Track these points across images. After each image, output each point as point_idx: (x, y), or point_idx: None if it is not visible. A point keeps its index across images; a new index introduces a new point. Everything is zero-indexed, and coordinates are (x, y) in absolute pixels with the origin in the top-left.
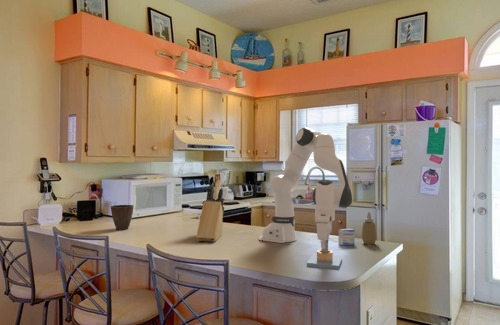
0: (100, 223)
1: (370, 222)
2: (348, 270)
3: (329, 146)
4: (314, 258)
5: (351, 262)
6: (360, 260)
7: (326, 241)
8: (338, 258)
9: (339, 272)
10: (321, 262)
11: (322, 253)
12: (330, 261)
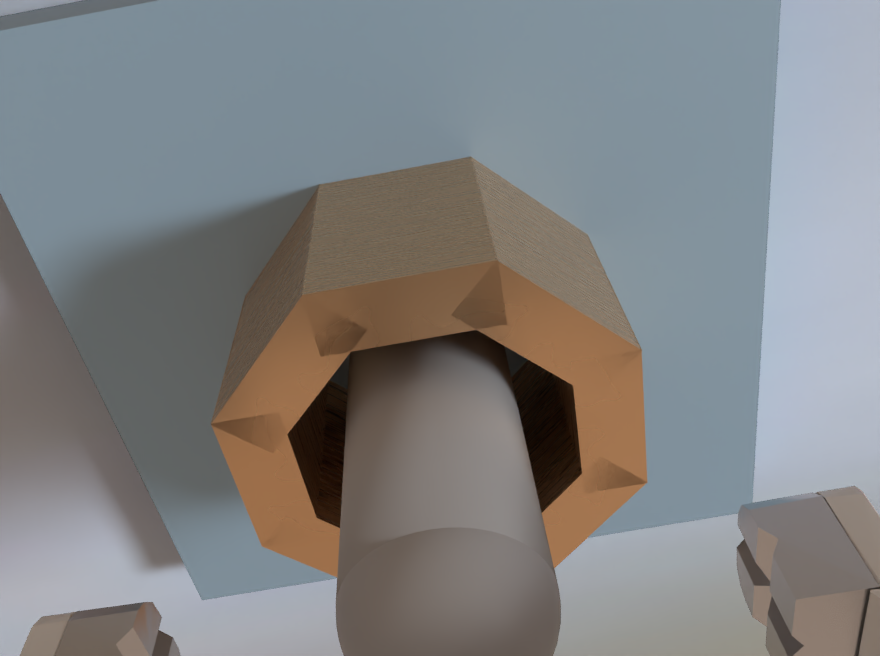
0: None
1: None
2: (246, 648)
3: None
4: (462, 71)
5: (700, 582)
6: None
7: (771, 621)
8: (689, 479)
9: (60, 598)
10: (210, 325)
11: (227, 459)
12: None
